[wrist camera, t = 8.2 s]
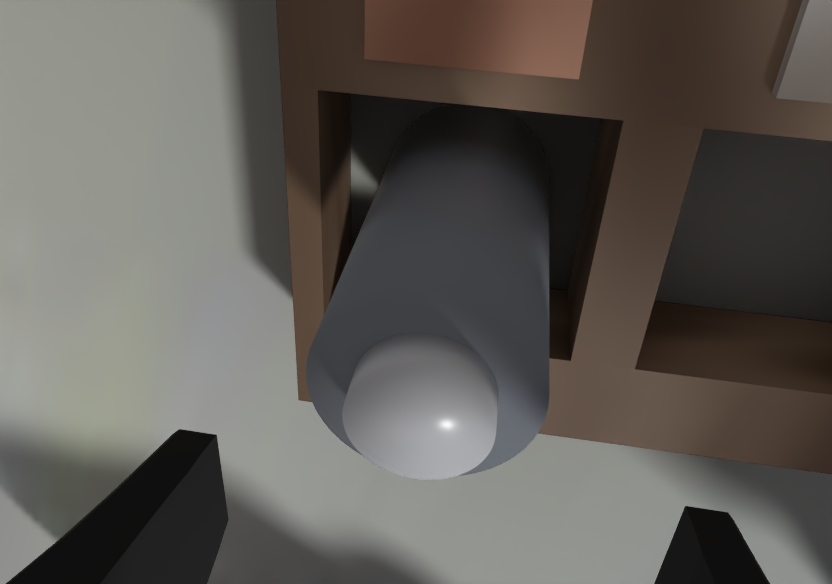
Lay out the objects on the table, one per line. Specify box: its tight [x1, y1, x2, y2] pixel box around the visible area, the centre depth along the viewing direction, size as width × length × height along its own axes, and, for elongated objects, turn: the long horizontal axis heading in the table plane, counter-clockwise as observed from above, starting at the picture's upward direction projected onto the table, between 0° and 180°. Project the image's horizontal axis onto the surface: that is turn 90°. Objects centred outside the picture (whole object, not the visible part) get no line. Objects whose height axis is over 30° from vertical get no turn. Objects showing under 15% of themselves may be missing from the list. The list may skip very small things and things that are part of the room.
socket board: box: [276, 0, 832, 474], centre depth 16 cm, size 15×14×3 cm
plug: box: [306, 104, 550, 480], centre depth 15 cm, size 4×4×9 cm
